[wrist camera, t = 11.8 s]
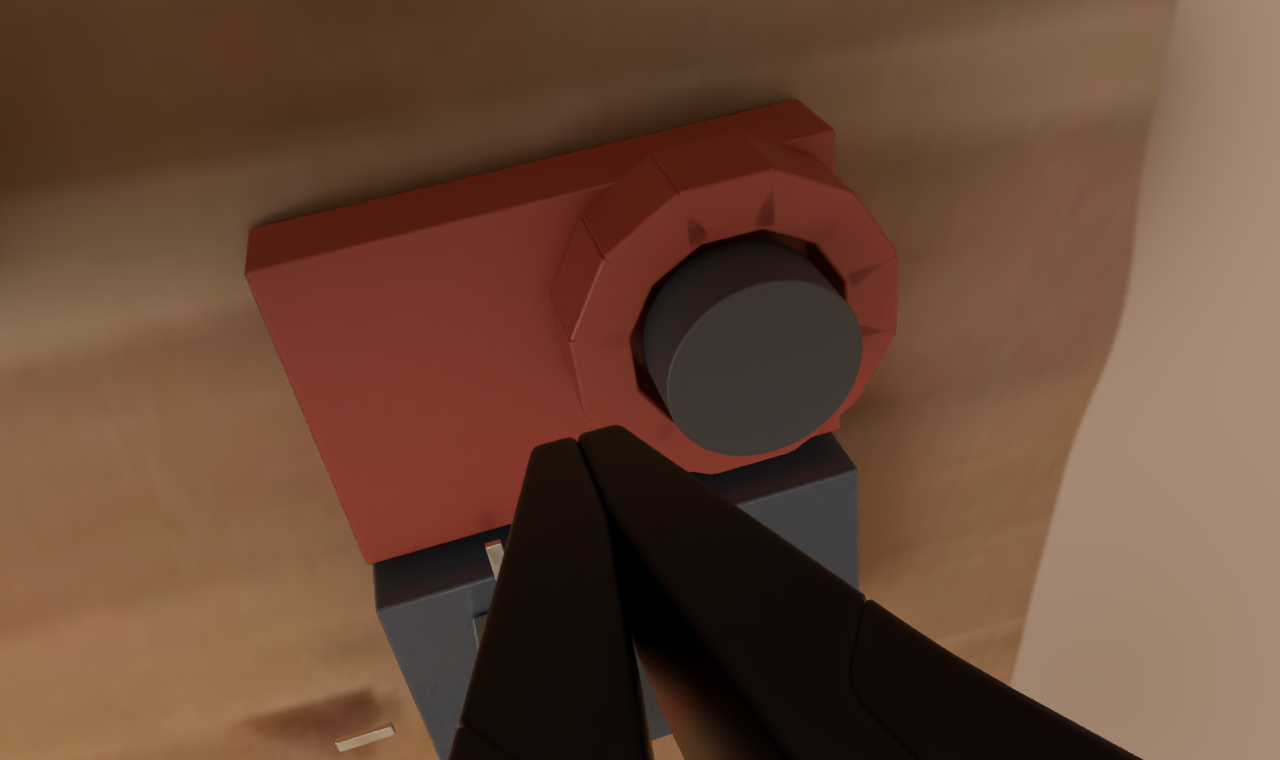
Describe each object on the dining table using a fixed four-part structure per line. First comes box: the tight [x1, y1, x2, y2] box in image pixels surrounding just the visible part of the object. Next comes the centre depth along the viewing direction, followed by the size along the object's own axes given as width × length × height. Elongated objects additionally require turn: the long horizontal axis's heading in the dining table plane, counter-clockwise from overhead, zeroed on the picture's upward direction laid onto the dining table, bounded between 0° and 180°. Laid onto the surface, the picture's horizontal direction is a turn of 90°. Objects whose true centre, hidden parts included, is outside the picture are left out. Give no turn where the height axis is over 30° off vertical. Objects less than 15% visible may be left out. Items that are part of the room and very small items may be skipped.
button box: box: [244, 99, 898, 564], centre depth 22 cm, size 12×8×4 cm
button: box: [643, 240, 863, 456], centre depth 20 cm, size 4×4×2 cm
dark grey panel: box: [336, 432, 859, 760], centre depth 27 cm, size 14×10×3 cm
